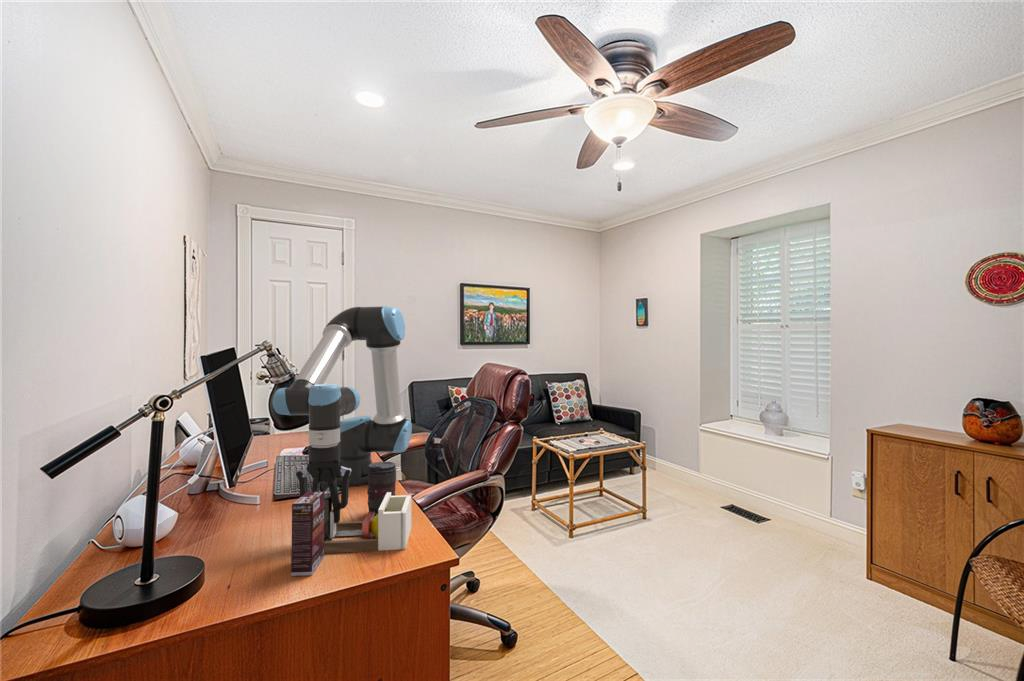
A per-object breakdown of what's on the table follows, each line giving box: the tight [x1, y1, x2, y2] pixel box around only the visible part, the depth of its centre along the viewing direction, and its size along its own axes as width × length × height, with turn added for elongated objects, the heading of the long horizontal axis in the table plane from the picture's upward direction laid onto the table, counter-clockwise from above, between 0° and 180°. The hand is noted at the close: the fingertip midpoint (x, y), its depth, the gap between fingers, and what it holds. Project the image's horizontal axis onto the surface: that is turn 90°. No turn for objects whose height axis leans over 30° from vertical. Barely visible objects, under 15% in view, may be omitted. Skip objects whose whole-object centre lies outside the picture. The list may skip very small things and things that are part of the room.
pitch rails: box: [324, 520, 378, 554], centre depth 117 cm, size 13×17×2 cm
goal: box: [377, 492, 412, 552], centre depth 119 cm, size 13×7×10 cm, turn 6°
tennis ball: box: [371, 511, 389, 539], centre depth 118 cm, size 7×7×7 cm
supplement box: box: [290, 491, 326, 577], centre depth 104 cm, size 9×5×16 cm, turn 5°
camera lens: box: [366, 461, 397, 517], centre depth 135 cm, size 8×8×15 cm
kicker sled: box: [324, 494, 374, 541], centre depth 117 cm, size 8×14×11 cm, turn 96°
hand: (324, 535), depth 117 cm, fingers closed on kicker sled, 4 cm apart
